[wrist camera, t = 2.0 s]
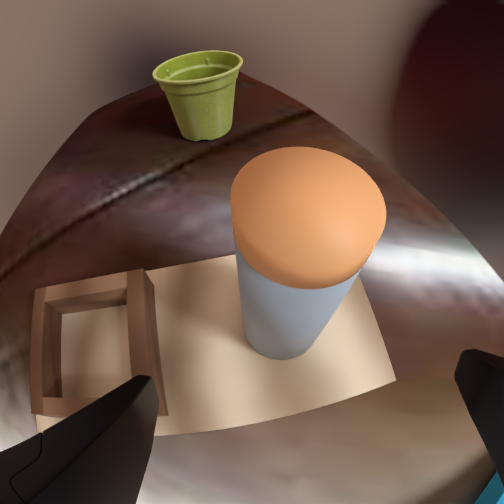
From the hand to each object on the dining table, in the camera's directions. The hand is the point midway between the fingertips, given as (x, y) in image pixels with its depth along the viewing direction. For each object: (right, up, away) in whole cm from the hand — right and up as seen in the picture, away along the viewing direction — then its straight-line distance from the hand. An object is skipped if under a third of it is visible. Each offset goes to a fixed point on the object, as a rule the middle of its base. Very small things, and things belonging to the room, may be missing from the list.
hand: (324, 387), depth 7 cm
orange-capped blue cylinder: (0, -1, +12) cm, 12 cm away
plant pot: (-7, +18, +26) cm, 32 cm away
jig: (-6, -3, +12) cm, 14 cm away
